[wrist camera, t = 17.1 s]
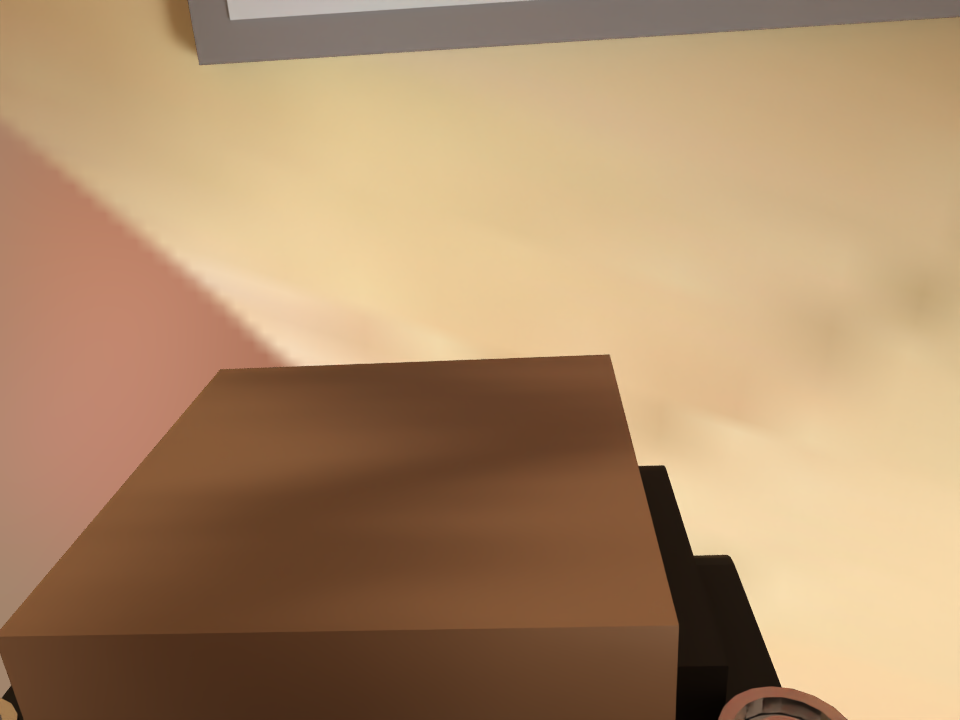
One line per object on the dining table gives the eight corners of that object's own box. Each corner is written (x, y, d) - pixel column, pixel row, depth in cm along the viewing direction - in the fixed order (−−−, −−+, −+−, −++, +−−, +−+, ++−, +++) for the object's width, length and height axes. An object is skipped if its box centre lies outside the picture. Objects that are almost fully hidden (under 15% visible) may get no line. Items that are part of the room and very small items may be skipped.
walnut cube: (609, 354, 12) (679, 625, 7) (609, 666, 14) (662, 1056, 9) (220, 368, 12) (-6, 636, 7) (279, 670, 14) (140, 1047, 9)
